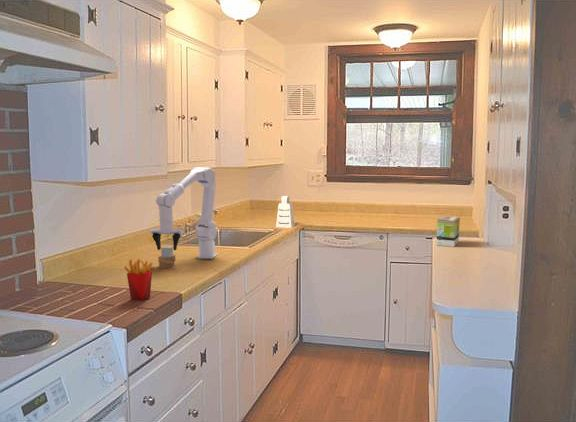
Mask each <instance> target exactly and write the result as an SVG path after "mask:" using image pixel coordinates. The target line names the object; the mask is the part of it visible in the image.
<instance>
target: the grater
mask: <svg viewBox="0 0 576 422" xmlns="http://www.w3.org/2000/svg"><path fill="white" fill-rule="evenodd" d="M293 206H294V205H293V202H291V201H290V195H282V196H281V202H278V205H277V215H276V223H275V228H287V229H289V228H290V229H292V228H293V227H295V226H296V223H295V215H294V207H293Z"/></svg>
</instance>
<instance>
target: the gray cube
mask: <svg viewBox="0 0 576 422" xmlns="http://www.w3.org/2000/svg"><path fill="white" fill-rule="evenodd" d="M160 251H161V252H160V253H161V255H160V256H161V257H171V256H173V255H174V249H173V246H163V247H161V249H160Z"/></svg>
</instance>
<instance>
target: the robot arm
mask: <svg viewBox="0 0 576 422" xmlns="http://www.w3.org/2000/svg"><path fill="white" fill-rule="evenodd" d="M196 181H197V182H198V183H199V184H201V186H202V187H203V192H202V193H203V195H202V204H201V205H202V207H201V214H200V215H201V217H200V218H201V219H200V220H199V221H197V224H196V227H195V230H194V234H195V236H196V237H197V240H198V256H197V257H196V259H208V260H209V259H211V260H213V259H214V258H215V257H216V256H217V255H218V254H217V253H216V246H215V245H216V243H215V241H214V240H215V238H216V236H217V234H218V231H217V224H216V222H215V221H214V220H213V217H214V216H213V215H214V207H215V206H214V205H215V195H216V172H215V170H214V169H213V168H212V167H199V166H195V167H193V169H191V170H190V173H189V174H188V175H187V176H185V177H184V178H183V179H182V180H181V181H180V182H179V183H178V182H177V183H172V184H171V187H169V188H168V189H167V190H165V191H164V193H160V194H158V195H157V198H156V200H155V202H156V205H157V207H158V210H159V211H158V212H159V213H158V214H159V215H158V216H159V228H151V229H149V234H150V235H151V237H152V239H153V240H154V242H155V244H156V248H157V251H161V248H162V245H161V237H162V235H172V241H173V242H172V243H173V244H172V245H173V246H172V247H173V251H176V250H177V248H178V243H179V240H180V238H181V236H182V235H183V234H184V232H183V231H184V230H183V229H176V228H174V222H173V206H174V205H175V203H176V201H177V199H178V198H180V197H181V196H182V195H183V194H184V193H185V189H187V188H188V187H189V186H190V185H192V184H194V183H195V182H196Z"/></svg>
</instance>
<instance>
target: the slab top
mask: <svg viewBox="0 0 576 422" xmlns="http://www.w3.org/2000/svg"><path fill="white" fill-rule="evenodd" d="M173 261H174V262H175V261H176V254H173V256H171V257H161V255H160V256H158V263H160V262H161V263H171V262H173Z"/></svg>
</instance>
